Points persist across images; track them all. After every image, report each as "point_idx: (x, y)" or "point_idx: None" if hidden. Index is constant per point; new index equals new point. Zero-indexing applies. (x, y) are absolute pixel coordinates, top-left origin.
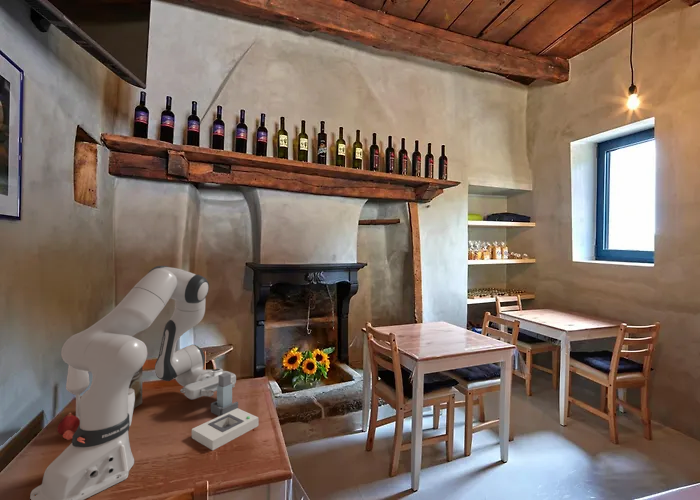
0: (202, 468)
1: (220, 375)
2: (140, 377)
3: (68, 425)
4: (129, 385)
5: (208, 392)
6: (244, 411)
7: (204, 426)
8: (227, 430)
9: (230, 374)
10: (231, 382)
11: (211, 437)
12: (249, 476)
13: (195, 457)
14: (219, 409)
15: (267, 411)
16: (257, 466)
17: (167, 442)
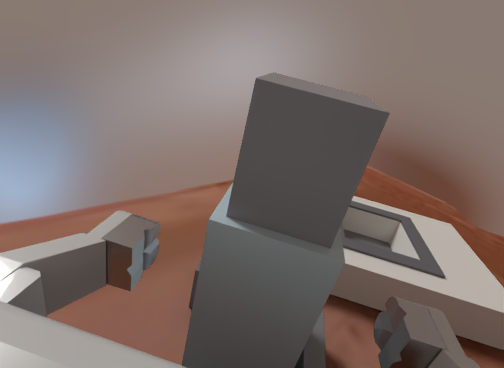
0: (473, 237)
1: (373, 104)
2: None
3: None
4: None
5: (448, 337)
6: None
7: (463, 283)
8: (392, 213)
9: (276, 73)
10: (105, 232)
11: (450, 232)
12: (397, 181)
13: (489, 268)
14: (322, 322)
15: (178, 197)
16: (375, 177)
17: None
